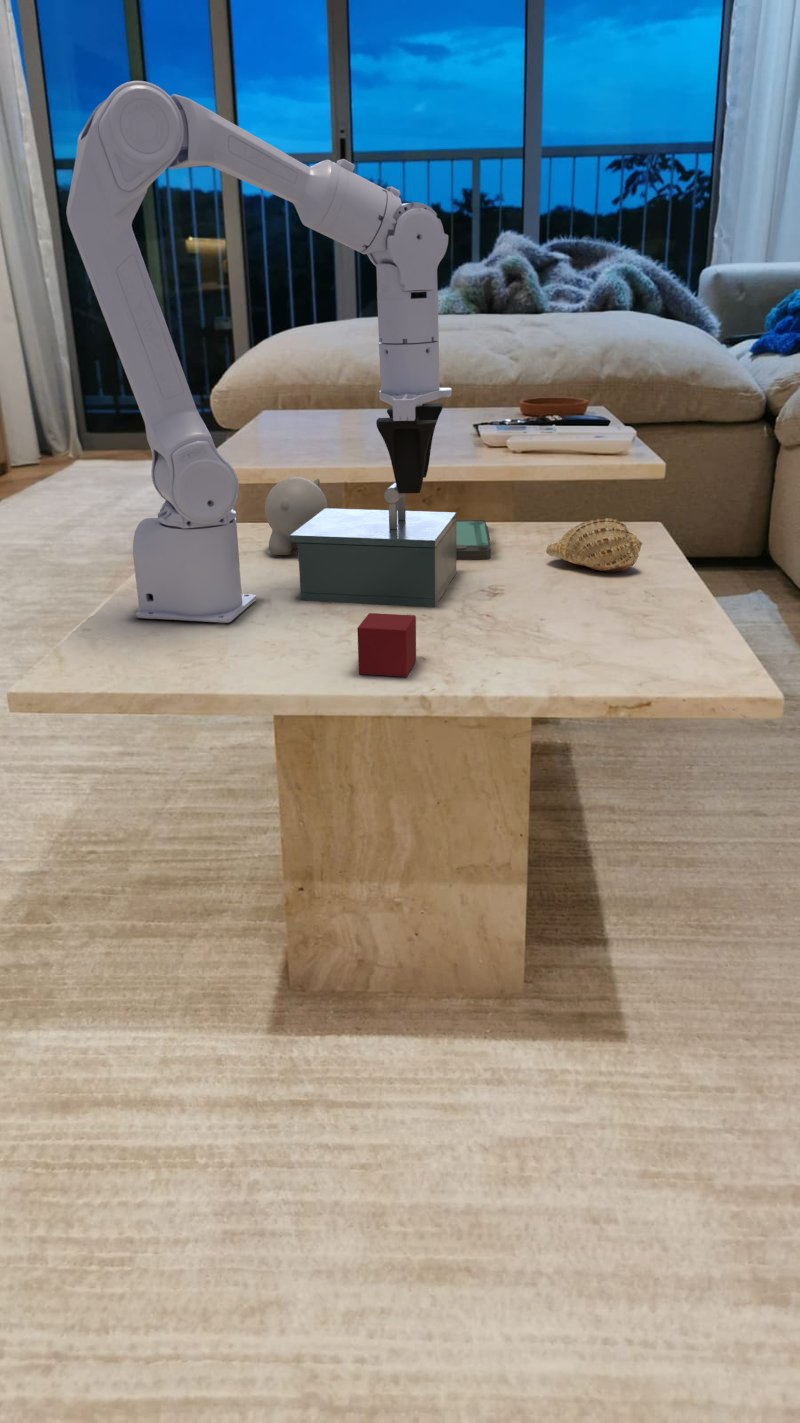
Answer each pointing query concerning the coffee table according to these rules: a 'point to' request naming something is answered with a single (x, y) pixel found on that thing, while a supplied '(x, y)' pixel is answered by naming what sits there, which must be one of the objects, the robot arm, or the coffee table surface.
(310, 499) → the chubby cartoon animal
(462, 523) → the smartphone
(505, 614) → the coffee table surface
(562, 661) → the coffee table surface
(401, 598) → the grey-green open box
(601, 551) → the seashell
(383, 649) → the block
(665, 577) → the coffee table surface
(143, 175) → the robot arm
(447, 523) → the lid
